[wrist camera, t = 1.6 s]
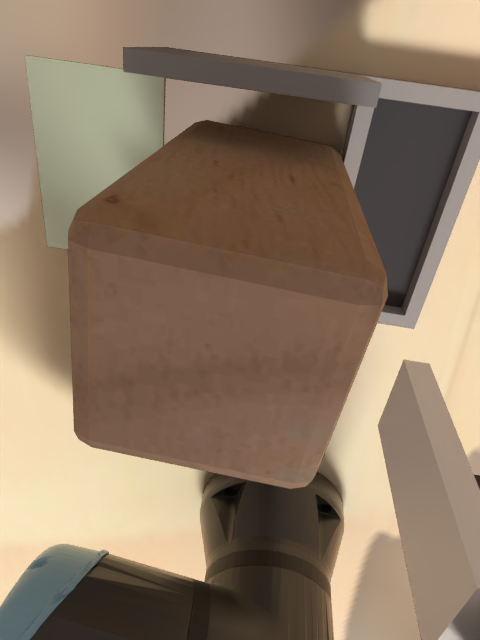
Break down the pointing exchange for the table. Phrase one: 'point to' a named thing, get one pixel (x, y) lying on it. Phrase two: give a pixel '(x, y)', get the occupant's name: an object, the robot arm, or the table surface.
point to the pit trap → (412, 181)
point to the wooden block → (222, 304)
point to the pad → (88, 132)
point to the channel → (252, 75)
